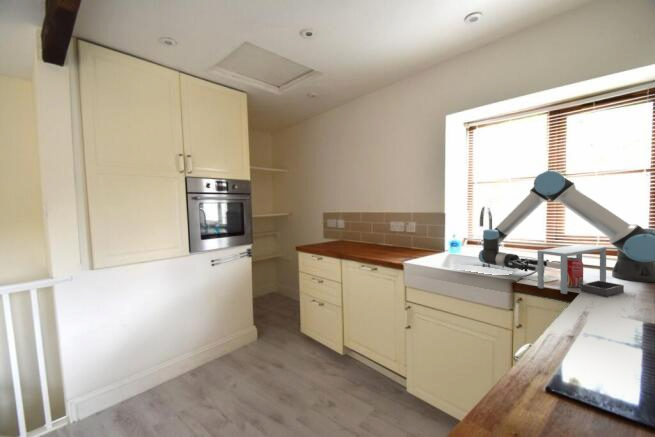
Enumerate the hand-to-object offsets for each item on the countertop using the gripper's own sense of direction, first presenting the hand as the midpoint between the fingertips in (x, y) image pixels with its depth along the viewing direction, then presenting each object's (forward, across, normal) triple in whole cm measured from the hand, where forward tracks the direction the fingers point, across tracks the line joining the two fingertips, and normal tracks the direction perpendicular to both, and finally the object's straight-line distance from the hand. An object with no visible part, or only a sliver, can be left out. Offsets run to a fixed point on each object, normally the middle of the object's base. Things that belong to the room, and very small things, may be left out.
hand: (553, 268), depth 125 cm
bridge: (+7, 0, -6) cm, 9 cm away
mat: (-6, 0, -6) cm, 9 cm away
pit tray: (+17, 0, -6) cm, 18 cm away
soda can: (+7, 0, -7) cm, 10 cm away
